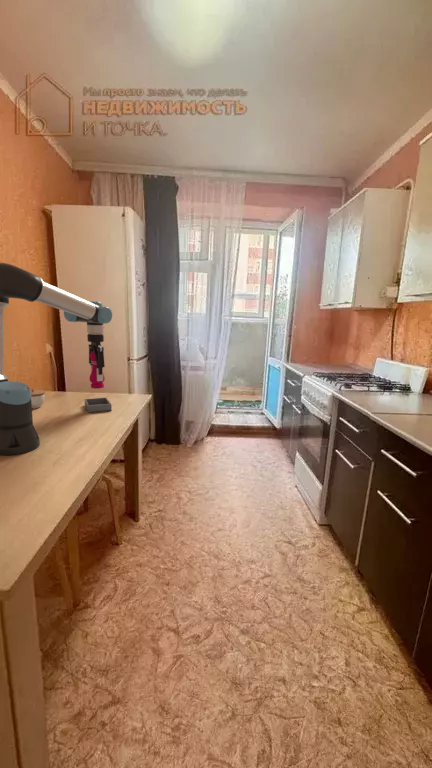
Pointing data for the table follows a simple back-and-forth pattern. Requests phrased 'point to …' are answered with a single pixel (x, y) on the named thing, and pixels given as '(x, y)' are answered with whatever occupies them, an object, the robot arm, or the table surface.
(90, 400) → the bin
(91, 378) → the pepper mill
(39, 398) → the lidded jar
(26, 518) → the table surface
